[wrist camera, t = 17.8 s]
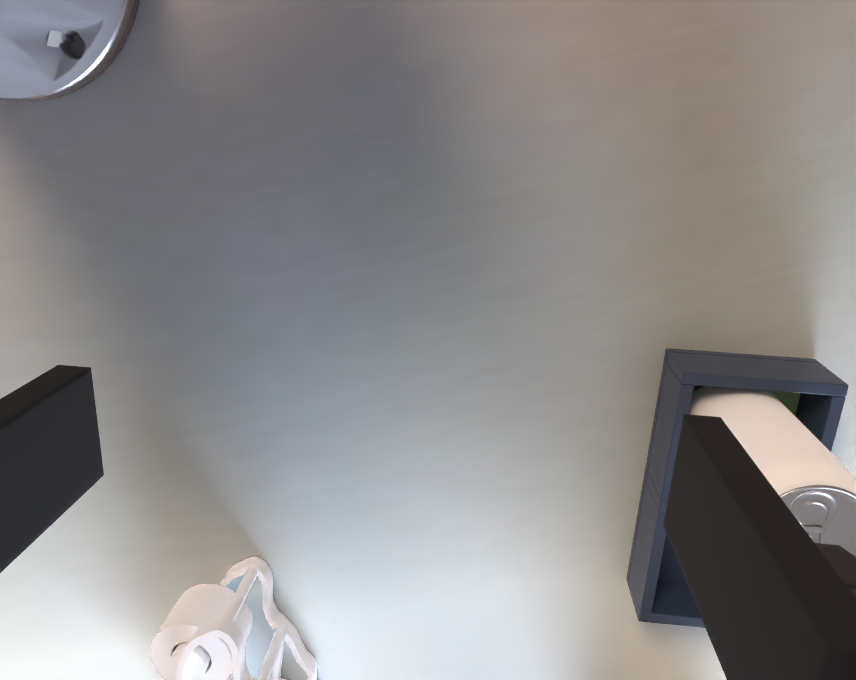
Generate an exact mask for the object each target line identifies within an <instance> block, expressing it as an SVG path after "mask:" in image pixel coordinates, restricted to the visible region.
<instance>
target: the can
mask: <svg viewBox="0 0 856 680" xmlns="http://www.w3.org/2000/svg"><path fill="white" fill-rule="evenodd" d="M689 415H701V416H713V417H721V418H722V420H723V421H724V422H725V424H726V425H727V426H728V428H729V429H730V430H731V432H732V433H733V434H734V436H735V437H736V438H737V440H738V441H739V442H740V444H741V445H742V446H743V448H744V449H745V451H746V452H747V453H748V455H749V456H750V457H751V459H752V460H753V461H754V463H755V464H756V465H757V467H758V468H759V469H760V471H761V472H762V473H763V475H764V476H765V477H766V479H767V480H768V481H769V483H770V484H771V485H772V487H773V488H774V489H775V491H776V492H777V493H778V495H779V496H780V497H781V499H782V500H783V501H784V503H785V504H786V505H787V507H788V508H789V510H790V511H791V512H792V514H793V515H794V516H795V518H796V519H797V520H798V522H799V523H800V524H801V526H802V527H803V528H804V530H805V531H806V532H807V534H808V535H809V536H810V538H811V539H812V540H813V542H814V543H821V544H832V545H840V546H841V547H843V548H844V549H845V550H847V551H848V552H850V553H851V554H852V555H854V556H855V557H856V478H855V477H854V476H853V475H852V474H851V473H850V471H849V470H848V469H847V468H846V467H845V466H844V465H843V464H842V463H841V462H840V461H839V460H838V459H837V458H836V457H835V456H834V455H833V454H832V453H831V452H830V451H829V450H828V449H827V448H826V447H825V446H824V445H823V444H822V443H821V442H820V441H819V440H818V439H817V438H816V437H815V436H814V435H813V434H812V433H811V432H810V431H809V430H808V429H807V428H806V427H805V426H804V425H803V424H802V423H801V422H800V421H799V420H798V419H797V418H796V417H795V416H794V415H793V414H792V413H791V412H790V411H789V410H788V409H787V408H786V407H785V406H784V405H783V404H782V403H781V402H780V401H779V400H778V399H777V398H776V397H775V396H774V395H773V394H772V393H771V392H770V391H767V390H754V389H741V388H728V387H714V386H702V387H700V388H698V389H697V390H695V391H694V392H693V394H692V399H691V405H690V410H689Z"/></svg>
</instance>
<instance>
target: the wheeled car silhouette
mask: <svg viewBox="0 0 856 680" xmlns="http://www.w3.org/2000/svg"><path fill="white" fill-rule="evenodd" d="M244 574H245V575H244ZM241 575H244V577H243V579H242V581H241V582H240V584H239V586H238V588H237V590H236V592H234V591H232V590H230V589H229V588H227V585H228V584H229V583H230V582H231V581H232V580H233V579H235V578H237V577H239V576H241ZM256 577H258V579H259V581H260V583H261V585H262V607H263V612H264V615H265V618H266V620H267V622H268V623H269V625H270V626H271V627H273V628H274V629H275V630H276V631H275V634H274V636H273V639H272V641H271V644H270V646H269V648H268V651H267V653H266V656H265V658H264V660H263V663H262V665H261V668H260V670H259V673H258V675H257V677H256V680H269V677H270V675H271V672H272V675H271V680H287V679H283V678H281V668H282V660H283V650H284V639H285V641H286V642H287V644H288V646H289V647H290V649H291V652H292V654H293V656H294V658H295V660H296V661H297V663H298V665H299V666H300V667H301V668H302V669H303V670H304V671H305V672H306V673H307V680H318V679H317V665H318V663H317V661H316V659H315V658H314V657H313V656H312V655H311V654H310V653H309V652H308V651H307V649H306V648H305V646H304V644H303V642H302V640H301V637H300V635H299V633H298V631H297V630H296V628H295V627H294V625H293V624H292V623H291V622H290V621H289V620H288V619H287V618H286V617H285V616H284V615H283V614H282V613H281V612H280V611H279V610H278V609H277V607H276V605H275V602H274V598H273V575H272V572H271V570H270V567H269V566H268V564H267V563H266V562H265V561H264V560H262V559H261V558H259V557H256V556H253V557H249V558H247V559H245V560H243V561H240V562H238V563H236V564H234V565H233V566H232V567H231V568H230V569H229V570H228V572H227V573H226V575H225V576H224V578H223V580H222V581H221V583H220V585H217V584H200V585H195V586H192V587H191V588H189V589H187V590H186V591H184V592H183V594H182V595H181V596H180V598H179V599H178V601H177V602H176V604H175V605H174V607H173V609H172V610H171V612H170V613H169V615H168V616H167V618H166V620H165V621H164V623H163V624H162V626H161V627H160V629H159V630H158V632H157V634H156V635H155V637H154V638H153V640H152V642H151V646H150V651H149V652H150V658H151V662H152V664H153V666H154V668H155V670H156V671H157V673H158V674H159V675H160V676H161V677H162V678H163V679H164V680H228V678H229V677H230V675H231V673H233V679H234V680H255V679H254V678H252V677H251V675H250V673H249V671H248V668H247V666H246V660H245V643H246V641H247V638H248V636H249V634H250V632H251V628H252V624H253V621H252V613H251V611H250V609H249V607H248V605H247V603H246V602H245V599H246V597H247V595H248V593H249V591H250V589H251V587H252V585H253V583H254V581H255V579H256Z"/></svg>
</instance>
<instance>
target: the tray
mask: <svg viewBox="0 0 856 680" xmlns="http://www.w3.org/2000/svg"><path fill="white" fill-rule="evenodd" d="M702 386H714V387H728V388H741V389H754V390H767V391H770V392H771V393H772V394H773V395H774V396H775V397H776V398H777V399H778V400H779V401H780V402H781V403H782V404H783V405H784V406H785V407H786V408H787V409H788V410H789V411H790V412H791V413H792V414H793V415H794V416H795V417H796V418H797V419H798V420H799V421H800V422H801V423H802V424H803V425H804V426H805V427H806V428H807V429H808V430H809V431H810V432H811V433H812V434H813V435H814V436H815V437H816V438H817V439H818V440H819V441H820V442H821V443H822V444H823V445H824V446H825V447H826V448H827V449H828V450H829V451H830V452H831V450H832V446H833V442H834V438H835V435H836V431H837V427H838V423H839V420H840V416H841V412H842V409H843V405H844V401H845V396H846V394H847V390H848V384H846V383H845V382H844V381H842V380H841V379H840V378H838V377H837V376H836V375H835V374H833V373H832V372H831V371H829V370H828V369H827V368H825V367H824V366H823V365H822V364H820V363H819V362H818V361H817V360H815V359H803V358H789V357H775V356H762V355H748V354H734V353H720V352H706V351H693V350H679V349H666V352H665V358H664V364H663V370H662V375H661V381H660V387H659V393H658V399H657V405H656V410H655V416H654V422H653V428H652V434H651V440H650V446H649V451H648V457H647V463H646V469H645V475H644V481H643V486H642V492H641V498H640V504H639V510H638V516H637V522H636V527H635V533H634V539H633V545H632V551H631V557H630V563H629V568H628V574H627V582H628V585H629V589H630V592H631V596H632V599H633V603H634V606H635V610H636V613H637V617H638V620H639V621H642V622H652V623H663V624H673V625H683V626H693V627H703V628H705V625H704V623H703V620H702V618H701V615H700V613H699V611H698V608H697V606H696V603H695V601H694V599H693V596H692V594H691V591H690V589H689V586H688V584H687V582H686V579H685V577H684V574H683V572H682V570H681V567H680V565H679V562H678V560H677V557H676V555H675V553H674V550H673V548H672V545H671V543H670V541H669V538H668V536H667V533H666V531H665V528H664V526H663V523H664V518H665V512H666V507H667V501H668V496H669V491H670V485H671V480H672V475H673V469H674V464H675V458H676V453H677V448H678V442H679V437H680V432H681V426H682V421H683V415H684V414H688V415H689V410H690V405H691V399H692V394H693V392H694V391H695V390H697V389H698V388H700V387H702Z"/></svg>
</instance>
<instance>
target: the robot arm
mask: <svg viewBox="0 0 856 680" xmlns="http://www.w3.org/2000/svg"><path fill="white" fill-rule="evenodd" d="M138 4H139V0H0V99H8V100H43V99H51V98H55V97H59V96H63V95H66V94H69V93H71V92H74V91H76V90H78V89H80V88H82V87H84V86H85V85H87V84H88V83H90V82H91V81H93V80H94V79H95V78H97V77H98V76H99V75H100V74H101V73H102V72H103V71H104V70H105V69H106V68H107V67H108V66H109V65H110V64H111V63H112V62H113V60H114V59H115V58H116V56H117V55H118V54H119V52H120V50H121V49H122V47H123V45H124V43H125V42H126V40H127V37H128V35H129V33H130V31H131V28H132V25H133V22H134V19H135V17H136V12H137V8H138ZM103 475H104V472H103V464H102V456H101V448H100V439H99V431H98V423H97V415H96V407H95V398H94V390H93V382H92V374H91V368H90V367H77V366H65V365H57V366H56V367H54V368H52V369H51V370H49V371H47V372H46V373H44V374H42V375H40V376H39V377H37V378H35V379H34V380H32V381H30V382H29V383H27V384H25V385H24V386H22V387H20V388H19V389H17V390H15V391H13V392H12V393H10V394H8V395H7V396H5V397H3V398H2V399H0V573H1V572H2V571H3V570H4V569H5V568H6V567H7V566H8V565H9V564H10V563H11V562H12V561H13V560H15V559H16V558H17V557H18V556H19V555H20V554H21V553H22V552H23V551H24V550H25V549H26V548H27V547H28V546H29V545H30V544H31V543H32V542H34V541H35V540H36V539H37V538H38V537H39V536H40V535H41V534H42V533H43V532H44V531H45V530H46V529H47V528H48V527H49V526H50V525H52V524H53V523H54V522H55V521H56V520H57V519H58V518H59V517H60V516H61V515H62V514H63V513H64V512H65V511H66V510H67V509H68V508H69V507H71V506H72V505H73V504H74V503H75V502H76V501H77V500H78V499H79V498H80V497H81V496H82V495H83V494H84V493H85V492H86V491H87V490H89V489H90V488H91V487H92V486H93V485H94V484H95V483H96V482H97V481H98V480H99V479H100V478H101V477H102V476H103ZM663 526H664V528H665V531H666V533H667V536H668V538H669V541H670V543H671V545H672V548H673V550H674V553H675V555H676V557H677V560H678V562H679V565H680V567H681V570H682V572H683V574H684V577H685V579H686V582H687V584H688V586H689V589H690V591H691V594H692V596H693V599H694V601H695V603H696V606H697V608H698V611H699V613H700V615H701V618H702V620H703V623H704V625H705V628H706V630H707V632H708V635H709V637H710V640H711V642H712V644H713V647H714V649H715V652H716V654H717V656H718V659H719V661H720V664H721V666H722V669H723V671H724V673H725V676H726V678H727V680H856V557H855V556H854V555H852V554H851V553H850V552H848V551H847V550H845V549H844V548H843V547H841V546H840V545H832V544H821V543H814V542H813V540H812V539H811V538H810V536H809V535H808V534H807V532H806V531H805V530H804V528H803V527H802V526H801V524H800V523H799V522H798V520H797V519H796V518H795V516H794V515H793V514H792V512H791V511H790V510H789V508H788V507H787V505H786V504H785V503H784V501H783V500H782V499H781V497H780V496H779V495H778V493H777V492H776V491H775V489H774V488H773V487H772V485H771V484H770V483H769V481H768V480H767V479H766V477H765V476H764V475H763V473H762V472H761V471H760V469H759V468H758V467H757V465H756V464H755V463H754V461H753V460H752V459H751V457H750V456H749V455H748V453H747V452H746V451H745V449H744V448H743V446H742V445H741V444H740V442H739V441H738V440H737V438H736V437H735V436H734V434H733V433H732V432H731V430H730V429H729V428H728V426H727V425H726V424H725V422H724V421H723V420H722V418H721V417H713V416H701V415H688V414H684V415H683V421H682V426H681V432H680V437H679V442H678V448H677V453H676V458H675V464H674V469H673V475H672V480H671V485H670V491H669V496H668V501H667V507H666V512H665V518H664V523H663Z"/></svg>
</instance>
